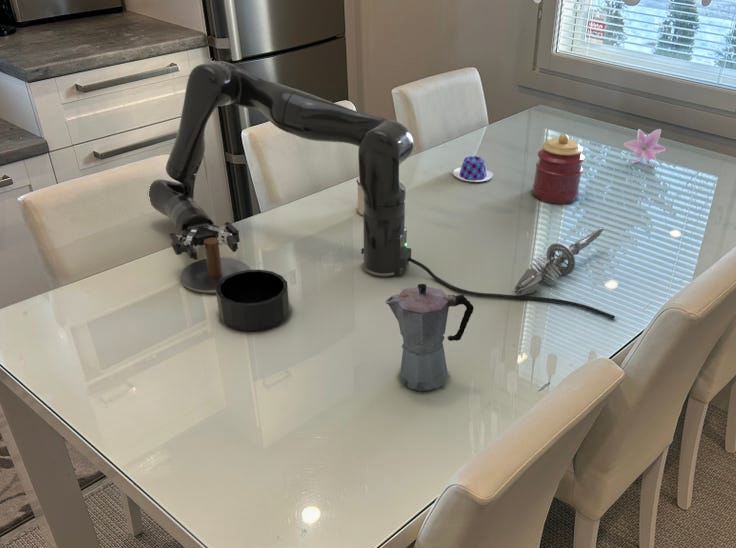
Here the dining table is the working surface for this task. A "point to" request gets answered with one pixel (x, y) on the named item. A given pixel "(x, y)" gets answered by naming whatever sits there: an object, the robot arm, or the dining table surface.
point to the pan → (253, 300)
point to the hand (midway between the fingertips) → (215, 252)
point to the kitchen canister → (558, 170)
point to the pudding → (473, 170)
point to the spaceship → (553, 264)
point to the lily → (646, 145)
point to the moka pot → (425, 333)
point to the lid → (210, 269)
